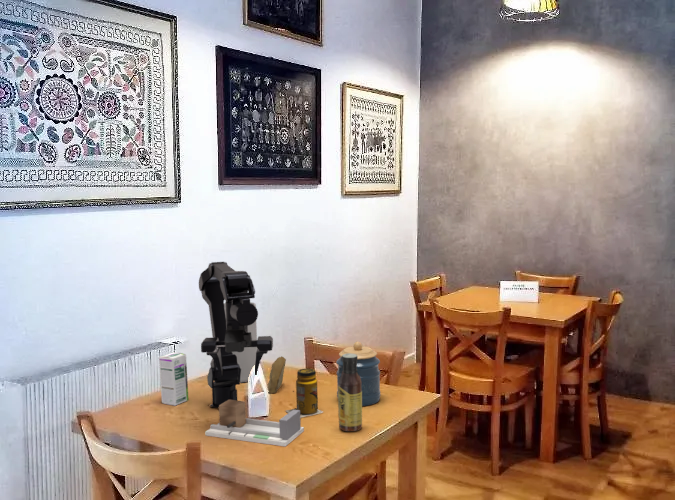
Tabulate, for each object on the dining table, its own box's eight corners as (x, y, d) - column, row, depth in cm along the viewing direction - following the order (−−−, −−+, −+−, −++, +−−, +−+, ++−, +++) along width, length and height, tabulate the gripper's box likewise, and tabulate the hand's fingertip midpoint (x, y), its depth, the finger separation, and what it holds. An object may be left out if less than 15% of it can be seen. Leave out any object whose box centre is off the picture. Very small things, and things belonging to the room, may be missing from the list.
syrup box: (175, 406, 195) (173, 358, 194) (160, 403, 198) (158, 355, 197) (188, 400, 200) (186, 353, 199) (174, 397, 203) (172, 351, 202)
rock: (280, 388, 202) (298, 376, 211) (264, 365, 204) (283, 354, 212) (260, 404, 208) (279, 391, 217) (245, 381, 210) (264, 369, 218)
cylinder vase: (242, 385, 214) (240, 309, 212) (212, 380, 220) (209, 306, 218) (265, 375, 225) (263, 303, 223) (236, 371, 231) (233, 300, 229)
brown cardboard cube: (213, 431, 170) (212, 409, 169) (229, 421, 178) (228, 399, 177) (230, 434, 168) (229, 411, 168) (246, 423, 176) (245, 401, 175)
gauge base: (205, 435, 171) (204, 412, 171) (227, 421, 181) (226, 399, 181) (285, 446, 163) (284, 422, 162) (303, 430, 173) (303, 408, 172)
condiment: (323, 412, 187) (322, 371, 186) (297, 419, 182) (296, 376, 181) (310, 405, 193) (309, 365, 192) (285, 411, 188) (283, 370, 187)
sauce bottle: (337, 424, 177) (336, 352, 175) (360, 423, 177) (359, 351, 176) (339, 433, 170) (338, 358, 169) (363, 432, 171) (362, 357, 169)
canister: (382, 393, 203) (382, 337, 201) (377, 407, 190) (377, 347, 188) (341, 392, 205) (339, 336, 203) (333, 406, 192) (332, 346, 191)
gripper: (196, 325, 168) (198, 385, 170) (269, 324, 169) (271, 383, 171) (203, 317, 179) (205, 373, 181) (272, 315, 180) (273, 371, 182)
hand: (238, 375), depth 178 cm, fingers open, 9 cm apart
